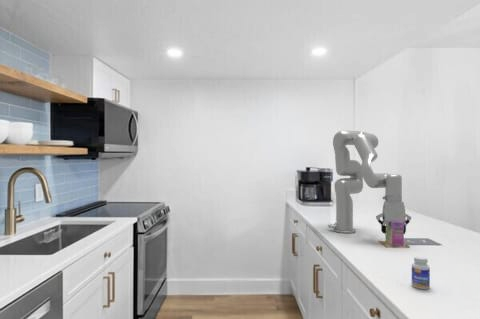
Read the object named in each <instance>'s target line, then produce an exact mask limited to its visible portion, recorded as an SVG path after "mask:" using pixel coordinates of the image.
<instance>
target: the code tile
mask: <svg viewBox="0 0 480 319" xmlns="http://www.w3.org/2000/svg"><path fill="white" fill-rule="evenodd" d="M404 244H406V245H408V246H443V244H442V243H439V242H437V241H435V240H433V239H430V238H429V237H427V238H423V237H422V238H419V237H411V238H410V237H404Z"/></svg>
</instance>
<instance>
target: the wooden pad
mask: <svg viewBox="0 0 480 319" xmlns="http://www.w3.org/2000/svg"><path fill="white" fill-rule="evenodd" d="M378 243H379V244H381V245H382V246H384V247H385V248H399V249H400V248H402V249H403V248H405V249H406V248H407V249H408V248H409V249H411V247H410V246H411V245H406V244H404V245H403V246H392V245H391V244H389V243H388V242H387V241H386V240H378Z"/></svg>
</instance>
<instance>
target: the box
mask: <svg viewBox="0 0 480 319" xmlns="http://www.w3.org/2000/svg"><path fill="white" fill-rule="evenodd" d="M385 226H386V234H385V241H387V242H388V243H389V244H391V245H392V246H403V245H404V238H405V236H404V235H405V234H404V222H402V221H391V222H387V223H386V224H385Z"/></svg>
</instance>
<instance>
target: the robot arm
mask: <svg viewBox="0 0 480 319" xmlns="http://www.w3.org/2000/svg"><path fill="white" fill-rule="evenodd" d="M378 145H379V138H378V136H377V135H375V134H374V133H369V132H366V131H361V130H360V131H359V130H340V131H338V132H336V133H335V134H334V136H333V138H332V146H333V151H334V158H335V170H336V174H337V175H338V176H341V177H343V178H338V179H336V180H335V182H334V186H333V187H334V192H335V201H336V203H335V204H336V205H335V206H336V207H335V213H336V214H335V215H336V216H335V217H336V218H335V222H334V223H333V224H331V223H328V225H327V227H328V228H331V229H333V232H336V233H340V234H341V233H342V234H353V233H355V232H356V229H355V228H354V220H353V219H354V212H353V211H354V207H353V206H354V202H353V198H352V196H351V195H354V194H357V195H358V194H360V193H361V192H362V191H363V188H364V182H365V184H366V185H367V186H368V188H371V189H385V195H384V196H382V199H383V200H384V201H383V205H382V212H381V213H379V214H378V215H376V216H375V219H376V220H377V222H378V223H379V224H380V225H381V226H380V227H381V228H380V230H381V232H382V233H383V234H384V235H386V223H387V222H391V221H402V222H404V235H405V234H406V232H407V226H408V224H409V223H410V221H412V220H411V219H412V216H411V215H408V213H406V206H405V202H404V201H403V200H402V197H403V194H402V193H403V186H402V184H403V181H402V180H403V178H402V175H400V174H396V173H395V174H393V173H392V174H390V173H377V172H376V173H374V171H373V168H372V166H371V163H373V162H374V161H375V160H376V159H378V153H377V151H376V148H377V147H378ZM347 146H354V148H355V150H356V152H357V153H358V155H359V157H360V159H361V161H362V162H361V163H360V162H359V161H358V160H354V159H351V156H350V155H351V153H350V151H349V149H348V147H347ZM345 177H346V178H345ZM381 218H382V219H381Z"/></svg>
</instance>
